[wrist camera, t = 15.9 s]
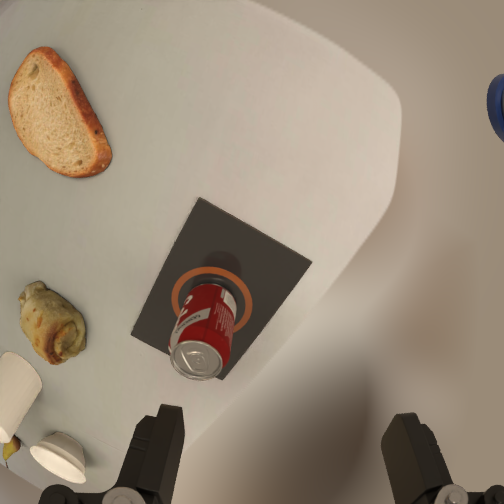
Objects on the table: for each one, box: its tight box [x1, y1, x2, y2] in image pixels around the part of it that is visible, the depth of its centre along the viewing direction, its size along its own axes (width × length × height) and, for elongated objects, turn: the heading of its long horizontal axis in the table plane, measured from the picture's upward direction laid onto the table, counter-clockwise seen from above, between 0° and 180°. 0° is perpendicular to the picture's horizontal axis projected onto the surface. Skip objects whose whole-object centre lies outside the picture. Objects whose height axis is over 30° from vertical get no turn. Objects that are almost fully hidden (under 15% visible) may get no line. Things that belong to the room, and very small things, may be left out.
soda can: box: [169, 283, 236, 381], centre depth 37 cm, size 7×7×12 cm
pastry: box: [18, 281, 86, 365], centre depth 42 cm, size 14×12×8 cm
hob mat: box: [131, 197, 312, 380], centre depth 43 cm, size 24×16×1 cm, turn 149°
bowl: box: [30, 432, 86, 483], centre depth 58 cm, size 16×16×8 cm
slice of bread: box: [8, 47, 112, 178], centre depth 32 cm, size 18×18×4 cm
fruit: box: [3, 435, 20, 468], centre depth 61 cm, size 6×6×12 cm
